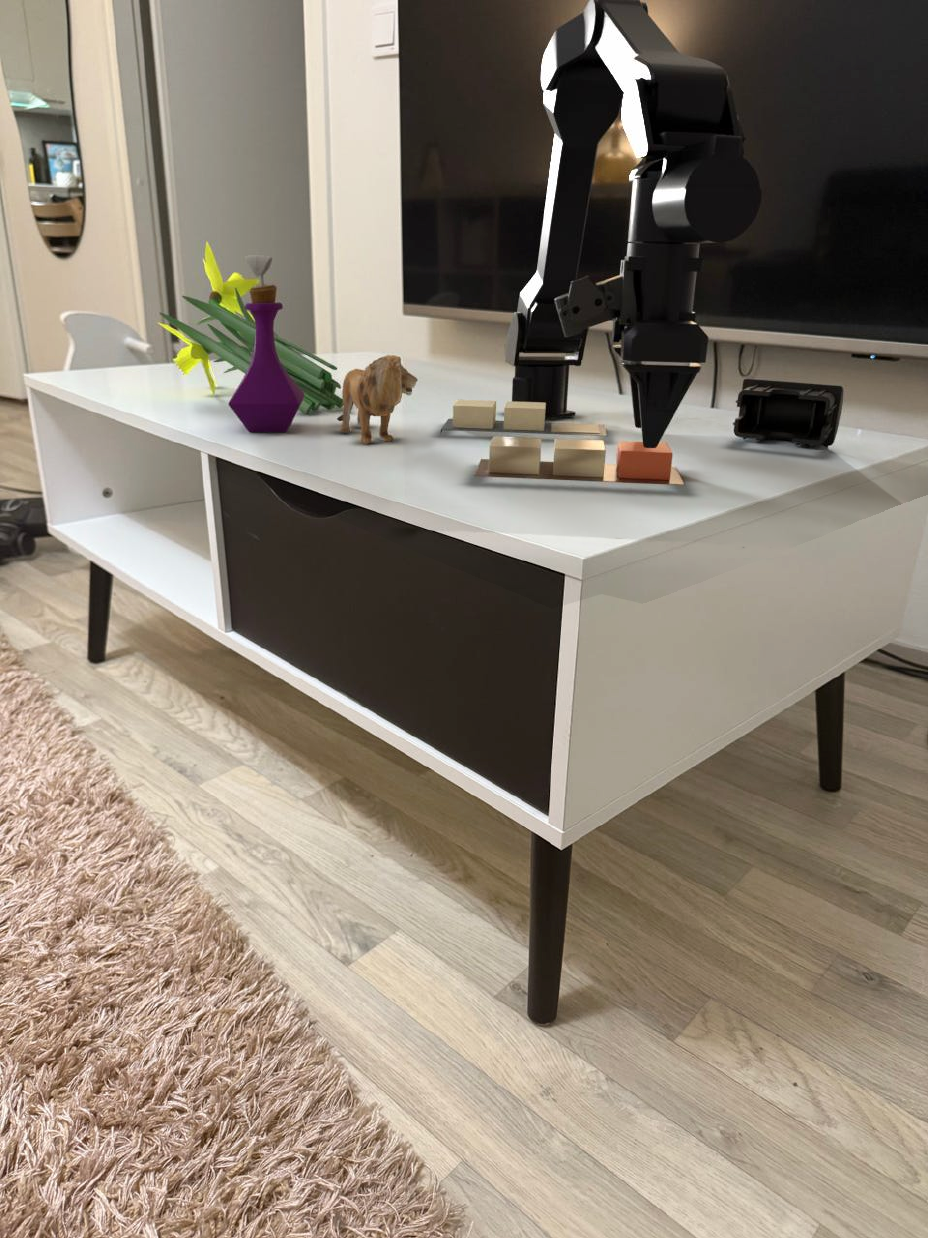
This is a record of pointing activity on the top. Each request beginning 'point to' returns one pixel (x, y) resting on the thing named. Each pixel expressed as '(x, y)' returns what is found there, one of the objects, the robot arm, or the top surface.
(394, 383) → the lion figurine
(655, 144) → the robot arm
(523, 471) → the word board
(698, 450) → the top surface
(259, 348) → the perfume bottle
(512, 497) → the top surface
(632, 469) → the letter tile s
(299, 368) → the daffodil flowers
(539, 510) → the top surface
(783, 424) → the end cap
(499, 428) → the word board
